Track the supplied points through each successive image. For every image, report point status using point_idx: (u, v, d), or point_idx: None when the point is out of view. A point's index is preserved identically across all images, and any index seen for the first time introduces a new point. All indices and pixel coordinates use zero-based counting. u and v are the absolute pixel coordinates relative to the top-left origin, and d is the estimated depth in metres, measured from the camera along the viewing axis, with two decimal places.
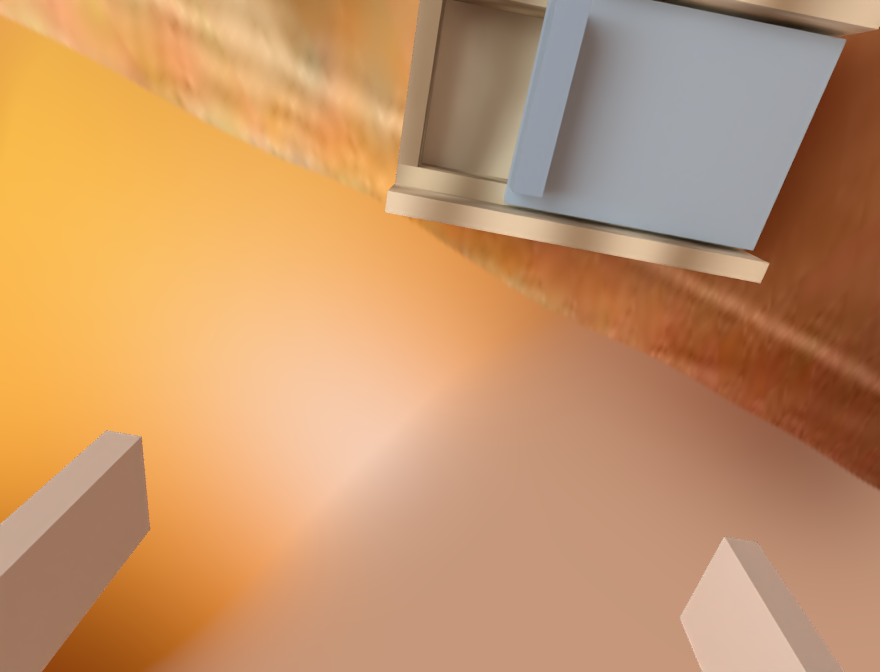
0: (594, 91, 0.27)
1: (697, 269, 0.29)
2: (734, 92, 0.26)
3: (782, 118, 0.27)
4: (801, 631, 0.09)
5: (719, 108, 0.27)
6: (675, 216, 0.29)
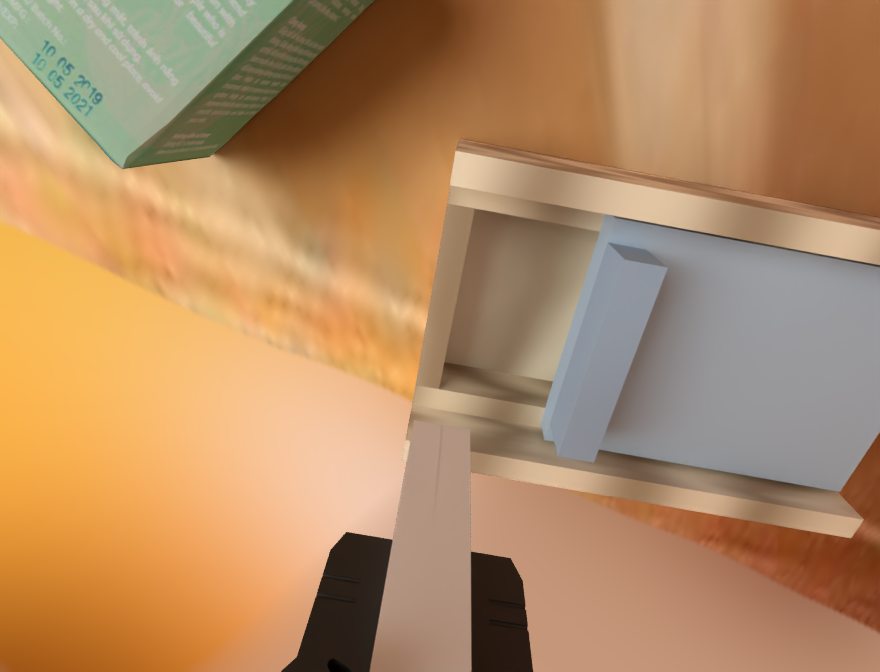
0: (658, 332, 0.22)
1: (775, 523, 0.24)
2: (830, 336, 0.22)
3: None
4: (455, 483, 0.11)
5: (811, 352, 0.22)
6: (748, 457, 0.24)
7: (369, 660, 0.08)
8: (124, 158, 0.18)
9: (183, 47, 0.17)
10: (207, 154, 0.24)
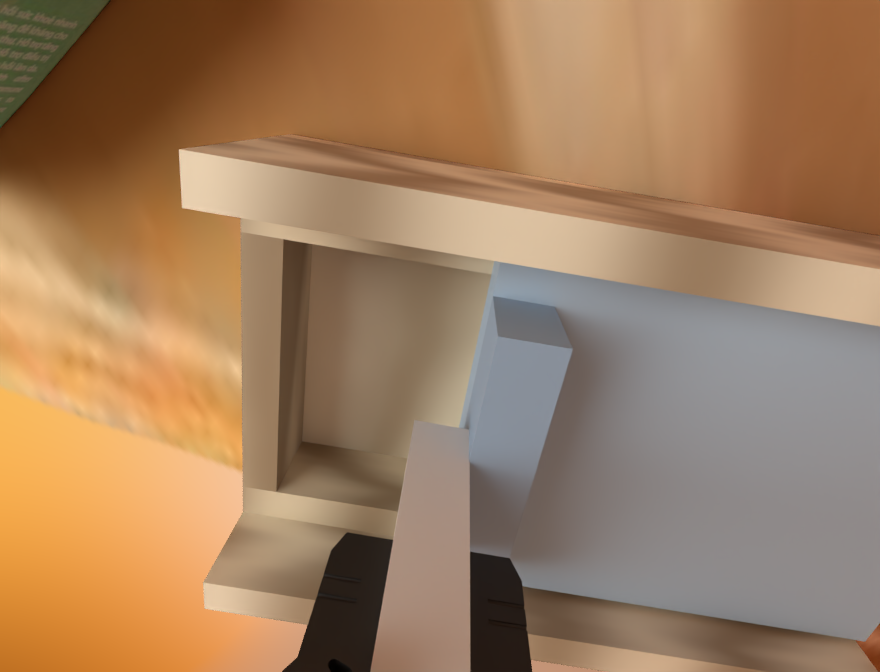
0: (584, 428, 0.14)
1: None
2: (850, 434, 0.14)
3: None
4: (454, 483, 0.11)
5: (820, 456, 0.14)
6: (730, 596, 0.17)
7: (370, 660, 0.08)
8: None
9: None
10: None
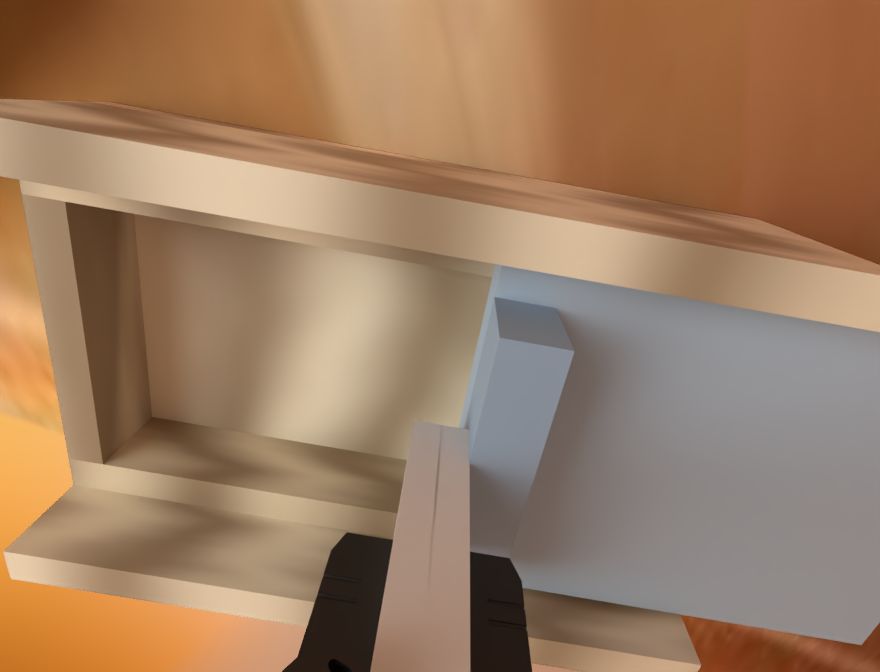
0: (584, 430, 0.14)
1: (574, 668, 0.16)
2: (849, 438, 0.14)
3: None
4: (454, 483, 0.11)
5: (819, 460, 0.14)
6: (728, 599, 0.17)
7: (370, 660, 0.08)
8: None
9: None
10: None
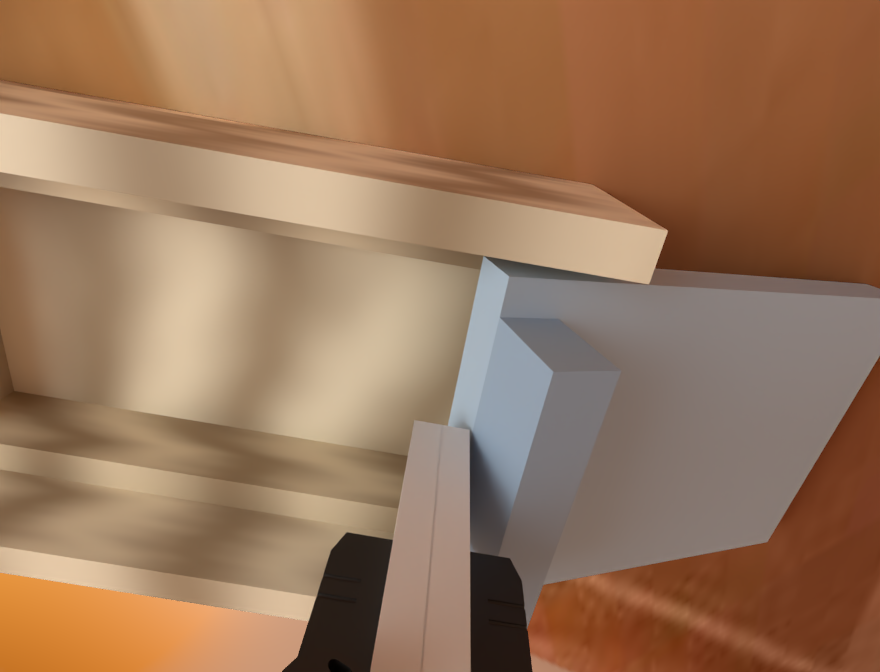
0: None
1: None
2: (774, 387, 0.16)
3: (824, 403, 0.18)
4: (455, 483, 0.11)
5: (753, 409, 0.16)
6: (683, 539, 0.19)
7: (369, 660, 0.08)
8: None
9: None
10: None
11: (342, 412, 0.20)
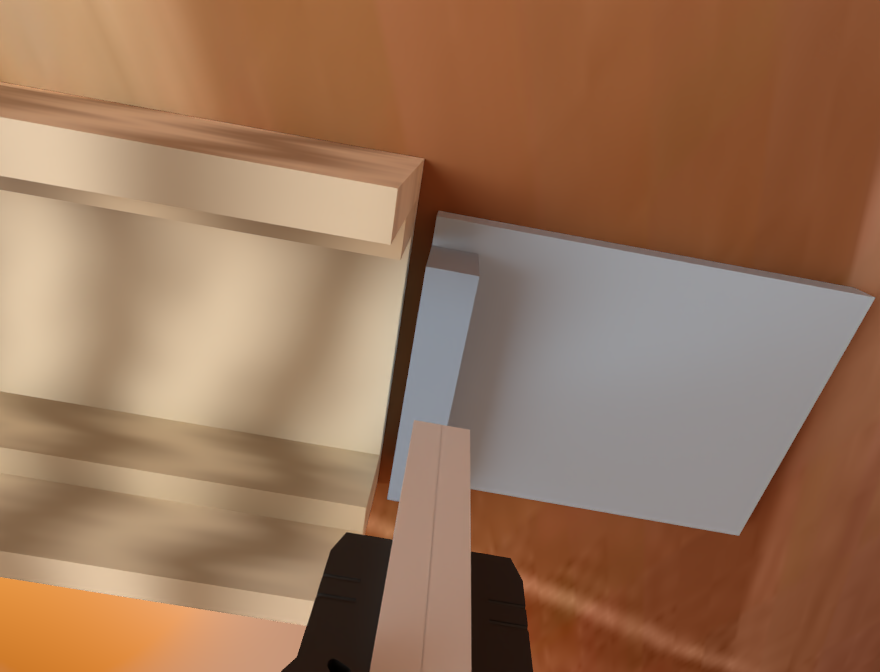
0: (505, 352, 0.18)
1: (223, 610, 0.16)
2: (708, 357, 0.18)
3: (779, 389, 0.18)
4: (455, 483, 0.11)
5: (687, 375, 0.18)
6: (629, 495, 0.21)
7: (369, 660, 0.08)
8: None
9: None
10: None
11: (197, 391, 0.20)
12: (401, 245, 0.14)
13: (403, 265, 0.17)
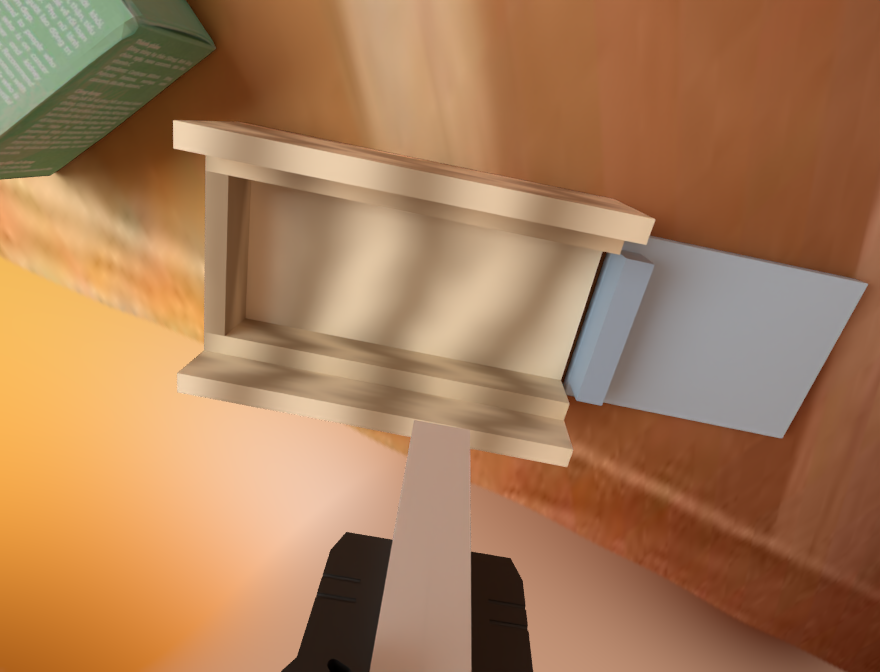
0: (648, 313, 0.31)
1: (501, 453, 0.28)
2: (769, 318, 0.30)
3: (811, 339, 0.31)
4: (455, 483, 0.11)
5: (757, 330, 0.31)
6: (714, 410, 0.33)
7: (369, 660, 0.08)
8: None
9: None
10: (45, 174, 0.29)
11: (453, 335, 0.32)
12: (621, 247, 0.26)
13: (597, 259, 0.30)
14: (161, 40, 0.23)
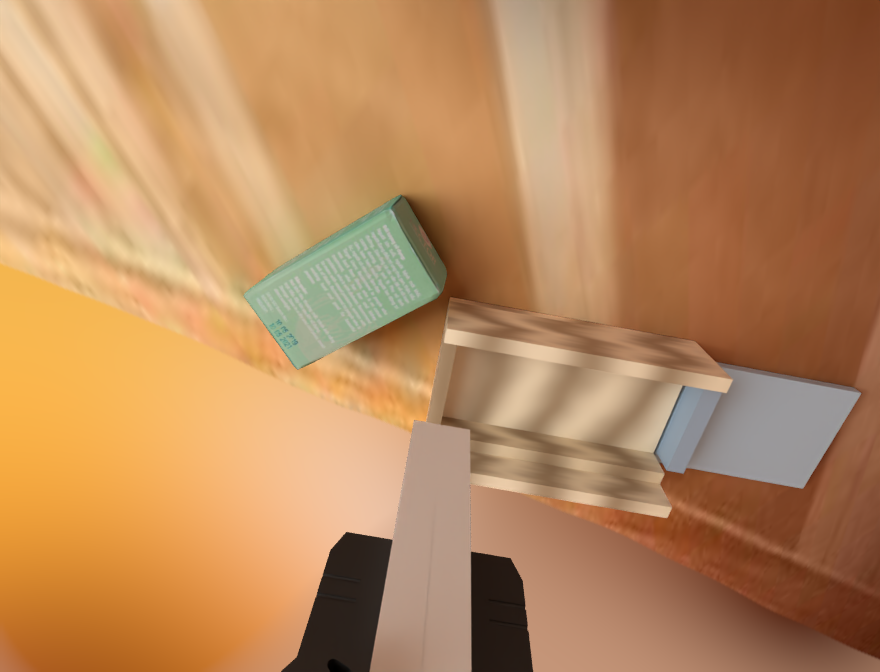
0: (714, 411, 0.46)
1: (625, 509, 0.43)
2: (795, 414, 0.46)
3: (823, 426, 0.46)
4: (455, 483, 0.11)
5: (786, 421, 0.46)
6: (756, 470, 0.48)
7: (369, 660, 0.08)
8: (300, 366, 0.39)
9: (340, 330, 0.38)
10: None
11: (582, 426, 0.47)
12: None
13: None
14: None
